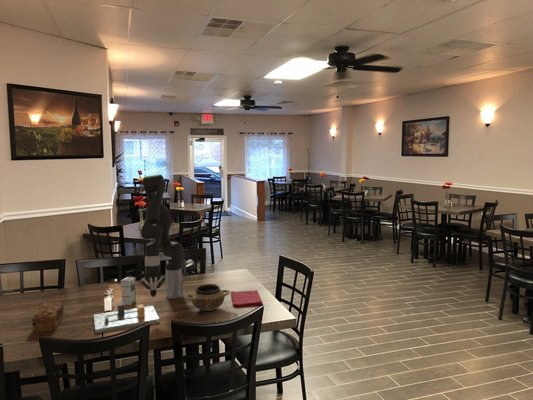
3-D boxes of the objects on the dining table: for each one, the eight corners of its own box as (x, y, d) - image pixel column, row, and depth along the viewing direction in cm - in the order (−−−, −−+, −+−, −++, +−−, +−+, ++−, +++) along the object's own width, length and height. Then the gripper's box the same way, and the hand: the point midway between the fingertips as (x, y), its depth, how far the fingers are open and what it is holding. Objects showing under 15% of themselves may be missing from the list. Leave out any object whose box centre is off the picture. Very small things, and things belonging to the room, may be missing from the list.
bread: (43, 319, 212) (41, 300, 211) (65, 316, 215) (64, 298, 213) (31, 334, 194) (30, 314, 193) (56, 331, 197) (55, 311, 196)
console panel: (152, 309, 225) (152, 296, 224) (159, 322, 206) (158, 308, 206) (94, 318, 212) (93, 304, 211) (95, 333, 194) (94, 318, 193)
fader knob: (143, 313, 212) (142, 303, 212) (144, 316, 208) (144, 307, 207) (137, 314, 211) (136, 304, 210) (138, 317, 206) (138, 308, 206)
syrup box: (131, 305, 230) (130, 280, 229) (121, 304, 231) (120, 279, 230) (136, 301, 236) (135, 277, 234) (127, 301, 237) (125, 276, 235)
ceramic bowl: (186, 322, 213) (186, 298, 208) (183, 302, 229) (183, 279, 224) (232, 317, 220) (233, 293, 214) (226, 298, 235) (227, 276, 230)
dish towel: (232, 308, 226) (232, 304, 226) (230, 294, 249) (229, 290, 249) (263, 306, 229) (263, 302, 228) (257, 292, 252) (257, 288, 251)
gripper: (164, 260, 215) (165, 292, 217) (138, 263, 210) (139, 295, 212) (166, 264, 209) (167, 296, 210) (140, 266, 203) (141, 300, 205)
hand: (153, 296), depth 211 cm, fingers closed
